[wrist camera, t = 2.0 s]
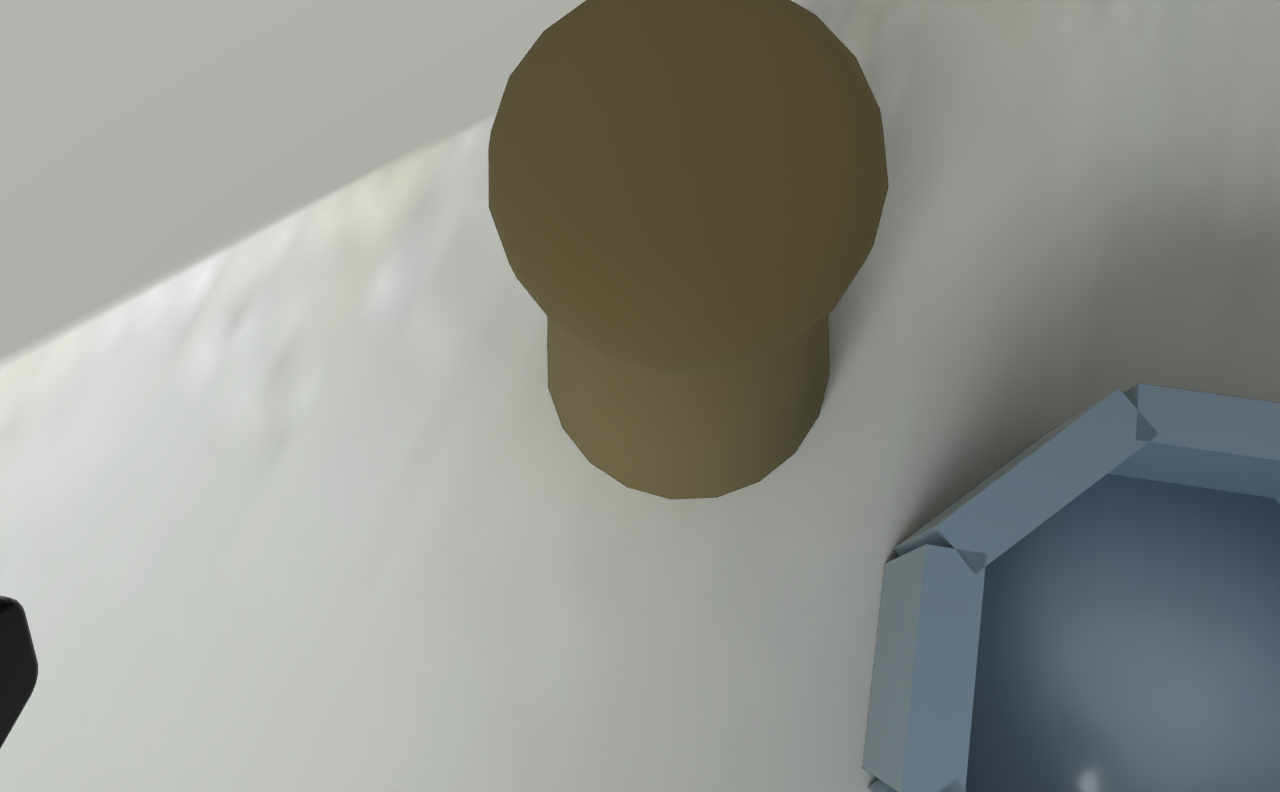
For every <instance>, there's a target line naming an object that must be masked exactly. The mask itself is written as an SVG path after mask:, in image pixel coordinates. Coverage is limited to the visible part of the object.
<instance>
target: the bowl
mask: <svg viewBox="0 0 1280 792" xmlns="http://www.w3.org/2000/svg"><path fill="white" fill-rule="evenodd" d="M894 550H895V551H896V552H897V554H898V555H899V556H900V557H898V558H896V559H894V560H891V561H889V562H887V563H885V567H884V576H883V585H882V594H881V603H880V612H879V621H878V630H877V639H876V649H875V658H874V667H873V676H872V685H871V694H870V703H869V712H868V721H867V730H866V739H865V749H864V758H863V767H862V768H863V769H864V770H866V771H867V772H869V773H870V774H872V775H873V776H875V777H877V778H878V780H876V781H875V782H874V783H872V784H871V785H870V786H869V787H868V789H869V790H870V791H871V792H1280V403H1276V402H1269V401H1262V400H1254V399H1247V398H1240V397H1233V396H1226V395H1219V394H1212V393H1205V392H1198V391H1190V390H1183V389H1176V388H1169V387H1162V386H1155V385H1148V384H1141V383H1139V384H1137V385H1136V386H1134V387H1132V388H1131V389H1129V390H1127V391H1126V392H1124V393H1123V392H1122V391H1121V390H1120V389H1119V388H1118V389H1117V390H1115V391H1114V392H1112V393H1110V394H1109V395H1107V396H1106V397H1104V398H1102V399H1101V400H1099V401H1098V402H1096V403H1094V404H1093V405H1091V406H1089V407H1088V408H1086V409H1085V410H1083V411H1081V412H1080V413H1078V414H1077V415H1075V416H1073V417H1072V418H1070V419H1069V420H1067V421H1065V422H1064V423H1062V424H1060V425H1059V426H1057V427H1056V428H1054V429H1052V430H1051V431H1049V432H1048V433H1046V434H1045V435H1043V436H1042V437H1041V438H1039V439H1038V440H1037V441H1035V442H1034V443H1033V444H1031V445H1030V446H1029V447H1027V448H1026V449H1025V450H1023V451H1022V452H1021V453H1019V454H1018V455H1017V456H1015V457H1014V458H1013V459H1011V460H1010V461H1009V462H1007V463H1006V464H1005V465H1003V466H1002V467H1001V468H999V469H998V470H997V471H995V472H994V473H993V474H991V475H990V476H989V477H987V478H986V479H985V480H984V481H982V482H981V483H980V484H978V485H977V486H976V487H974V488H973V489H972V490H970V491H969V492H968V493H966V494H965V495H964V496H962V497H961V498H960V499H958V500H957V501H956V502H954V503H953V504H952V505H950V506H949V507H948V508H946V509H945V510H944V511H942V512H941V513H940V514H938V515H937V516H936V517H934V518H933V519H932V520H930V521H929V522H928V523H926V524H925V525H924V526H922V527H921V528H920V529H918V530H917V531H916V532H914V533H913V534H912V535H910V536H909V537H908V538H907V539H905V540H904V541H903V542H901V543H900V544H899V545H897V546H896V547H895V548H894Z"/></svg>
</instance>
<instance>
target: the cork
mask: <svg viewBox="0 0 1280 792" xmlns="http://www.w3.org/2000/svg"><path fill="white" fill-rule="evenodd" d="M887 190H888V177H887V166H886V156H885V145H884V135H883V126H882V119H881V113H880V108H879V106H878V104H877V102H876V100H875V98H874V96H873V93H872V91H871V89H870V87H869V85H868V83H867V80H866V78H865V76H864V74H863V72H862V70H861V67H860V65H859V63H858V61H857V59H856V57H855V56H854V55H853V54H852V53H851V52H850V51H849V50H848V49H847V47H846V46H845V45H844V44H843V43H842V42H841V41H840V40H839V39H838V38H837V37H836V36H835V35H834V34H833V33H832V32H831V31H830V29H829V28H828V27H827V26H826V25H825V24H824V23H823V22H822V21H821V20H820V19H819V18H818V17H817V16H816V15H815V14H813V13H811V12H810V11H808V10H806V9H805V8H803V7H801V6H799V5H798V4H796V3H794V2H792V1H790V0H586V1H585V2H583V3H582V4H581V5H579V6H578V7H576V8H575V9H574V10H572V11H571V12H570V13H568V14H567V15H565V16H564V17H563V18H561V19H560V20H558V21H557V22H556V23H555V24H553V25H552V26H550V27H549V28H547V29H546V30H545V31H544V32H543V33H542V34H541V36H540V37H539V38H538V40H537V41H536V42H535V44H534V45H533V46H532V48H531V49H530V50H529V51H528V53H527V54H526V55H525V57H524V58H523V60H522V61H521V62H520V64H519V65H518V66H517V67H516V69H515V70H514V72H513V73H512V74H511V75H510V77H509V80H508V82H507V86H506V89H505V91H504V94H503V97H502V100H501V103H500V106H499V109H498V112H497V115H496V118H495V121H494V124H493V127H492V130H491V135H490V142H489V209H490V211H491V214H492V217H493V220H494V223H495V225H496V228H497V231H498V234H499V236H500V239H501V242H502V245H503V248H504V250H505V253H506V256H507V259H508V262H509V264H510V266H511V268H512V270H513V272H514V274H515V276H516V277H517V279H518V280H519V281H520V282H521V284H522V285H523V286H524V287H525V289H526V290H527V291H528V292H529V294H530V295H531V296H532V297H533V299H534V300H535V301H536V302H537V304H538V305H539V306H540V307H541V309H542V310H543V311H544V312H545V314H546V315H547V316H548V334H547V350H548V388H549V391H550V394H551V397H552V399H553V402H554V405H555V408H556V411H557V413H558V416H559V419H560V422H561V425H562V427H563V429H564V430H565V431H566V433H567V434H568V435H569V437H570V438H571V439H572V440H573V442H574V443H575V444H576V445H577V447H578V448H579V449H580V451H581V452H582V453H583V454H584V456H585V457H586V458H587V459H588V461H589V462H590V463H591V464H593V465H594V466H596V467H597V468H599V469H601V470H602V471H604V472H605V473H607V474H608V475H610V476H611V477H613V478H614V479H616V480H617V481H619V482H620V483H622V484H623V485H625V486H626V487H628V488H632V489H636V490H639V491H643V492H646V493H650V494H654V495H657V496H661V497H665V498H668V499H690V498H713V497H719V496H722V495H724V494H727V493H730V492H732V491H735V490H738V489H740V488H743V487H746V486H749V485H751V484H754V483H757V482H759V481H761V480H762V479H763V478H764V477H766V476H767V475H768V474H769V473H771V472H772V471H773V470H774V469H776V468H777V467H778V466H779V465H781V464H782V463H783V462H784V461H786V460H787V459H788V458H789V457H791V456H792V455H793V454H794V453H795V452H796V450H797V449H798V447H799V446H800V444H801V443H802V441H803V440H804V438H805V436H806V435H807V433H808V432H809V430H810V429H811V427H812V426H813V424H814V423H815V421H816V420H817V418H818V416H819V413H820V409H821V405H822V401H823V397H824V393H825V389H826V385H827V381H828V377H829V339H828V313H829V312H831V311H832V310H833V309H834V308H835V306H836V305H837V303H838V302H839V300H840V298H841V297H842V295H843V294H844V292H845V291H846V289H847V288H848V286H849V285H850V283H851V282H852V280H853V279H854V277H855V276H856V274H857V273H858V271H859V270H860V268H861V267H862V265H863V264H864V262H865V261H866V259H867V257H868V255H869V253H870V251H871V249H872V247H873V245H874V241H875V237H876V233H877V229H878V225H879V221H880V218H881V214H882V210H883V206H884V202H885V198H886V194H887Z"/></svg>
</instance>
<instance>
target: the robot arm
mask: <svg viewBox="0 0 1280 792" xmlns="http://www.w3.org/2000/svg"><path fill="white" fill-rule="evenodd" d="M37 676H38V662H37V658H36V654H35V650H34V646H33V642H32V638H31V634H30V630H29V626H28V623H27V619H26V615H25V611H24V609H23V607H22V605H21V604H20V603H19V602H18V601H17V600H15V599H12V598H9V597H4V596H0V748H1V747H2V745H3V743H4V741H5V740H6V738H7V736H8V734H9V733H10V731H11V729H12V727H13V726H14V724H15V722H16V720H17V719H18V717H19V715H20V713H21V712H22V710H23V708H24V707H25V705H26V703H27V701H28V700H29V698H30V696H31V694H32V692H33V689H34V687H35V684H36V680H37Z"/></svg>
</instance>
